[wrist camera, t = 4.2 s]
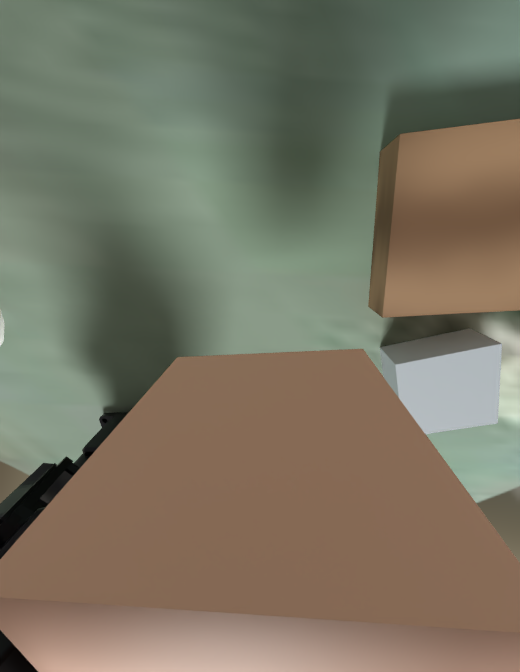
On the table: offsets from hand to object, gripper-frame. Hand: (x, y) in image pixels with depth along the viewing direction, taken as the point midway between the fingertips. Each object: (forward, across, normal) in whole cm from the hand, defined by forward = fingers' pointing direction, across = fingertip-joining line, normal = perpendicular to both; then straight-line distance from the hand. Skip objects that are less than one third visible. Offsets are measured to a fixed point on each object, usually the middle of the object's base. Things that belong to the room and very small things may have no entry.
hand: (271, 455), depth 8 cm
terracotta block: (+1, 0, 0) cm, 1 cm away
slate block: (+12, -11, +4) cm, 16 cm away
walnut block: (+12, -11, -6) cm, 17 cm away
